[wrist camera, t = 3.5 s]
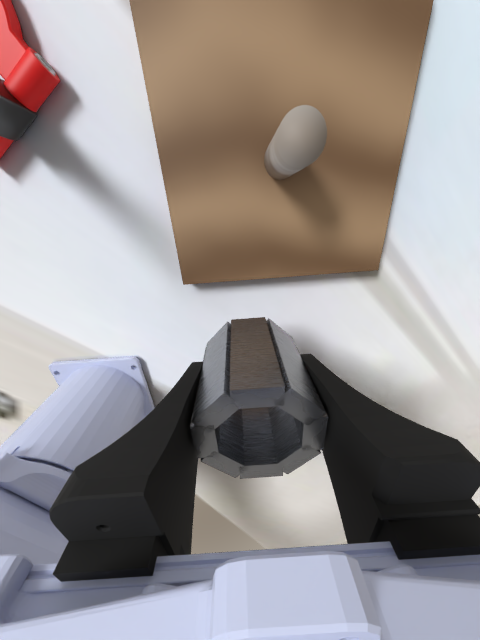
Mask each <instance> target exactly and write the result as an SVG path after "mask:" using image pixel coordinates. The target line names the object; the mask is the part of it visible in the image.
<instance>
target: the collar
mask: <svg viewBox="0 0 480 640" xmlns="http://www.w3.org/2000/svg"><path fill="white" fill-rule="evenodd" d="M327 422H328V415H327V413H326V411H325V409H324V407H323V404H322V402H321V400H320V398H319V396H318V393H317V391H316V389H315V387H314V385H313V382H312V380H311V378H310V376H309V374H308V371H307V369H306V367H305V365H304V363H303V360H302V358H301V356H300V354H299V352H298V349H297V347H296V345H295V343H294V341H293V338H292V337H291V336H290V335H289V334H287V333H286V332H285V331H284V330H282V329H281V328H280V327H279V326H278V325H276V324H275V323H274V322H273V321H271V320H270V319H268V320H267V321H266V319H265V317H262V318H249V319H236V320H231V324H230V323H229V322H227V323H226V324H225V325H224V326H223V327H222V328H221V329H220V330H219V331H218V332H217V333H216V334H215V336H214V337H213V338H212V339H211V340H210V341H209V342H208V343H207V347H206V350H205V355H204V360H203V367H202V372H201V376H200V379H199V384H198V389H197V394H196V399H195V404H194V409H193V414H192V419H191V424H190V429H191V433H192V437H193V441H194V445H195V449H196V453H197V457H198V458H201V462H203V463H205V464H207V465H210V466H212V467H214V468H216V469H218V470H220V471H222V472H224V473H226V474H228V475H230V476H232V477H235V478H236V477H237V476H239V475H240V479H243V478H258V477H272V476H283V472H284V473H286V474H289V473H291V472H292V471H294V470H295V469H297V468H298V467H300V466H301V465H303V464H305V463H306V462H308V461H309V460H311V459H312V458H314V457H315V456H317V455H319V454H320V453H321V452H320V450H323V449H324V442H325V436H326V429H327Z"/></svg>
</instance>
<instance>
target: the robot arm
mask: <svg viewBox="0 0 480 640" xmlns="http://www.w3.org/2000/svg"><path fill="white" fill-rule="evenodd" d="M300 356H301V358H302V360H303V363H304V365H305V367H306V369H307V371H308V374H309V376H310V378H311V380H312V382H313V385H314V387H315V389H316V391H317V393H318V396H319V398H320V400H321V402H322V404H323V407H324V409H325V411H326V413H327V415H328V422H327V429H326V436H325V442H324V449H323V450H322V451H323V455H324V458H325V461H326V465H327V468H328V471H329V475H330V478H331V482H332V485H333V489H334V492H335V496H336V500H337V504H338V507H339V511H340V515H341V519H342V523H343V527H344V531H345V535H346V539H347V543H348V544H341V545H326V546H311V547H296V548H280V549H265V550H250V551H236V552H219V553H205V554H191V542H192V525H193V524H192V523H193V511H194V497H195V486H196V474H197V464H198V457H197V453H196V449H195V445H194V441H193V437H192V433H191V429H190V424H191V419H192V414H193V409H194V404H195V399H196V394H197V389H198V384H199V379H200V376H201V372H202V367H203V362H193V363H192V364H191V365H190V366H189V367H188V369H187V370H186V372H185V373H184V374H183V376H182V377H181V378H180V380H179V381H178V382H177V383H176V385H175V386H174V387H173V388H172V390H171V391H170V392H169V393H168V394H167V395H166V397H165V398H164V399H163V400H162V401H161V402H160V403H159V404H158V405H157V406H156V407H154V404H153V401H152V398H151V395H150V392H149V389H148V386H147V383H146V380H145V377H144V374H143V371H142V368H141V365H140V362H139V359H138V358H137V357H134V356H130V357H116V358H102V359H88V360H73V361H59V362H53V363H51V364H50V365H49V369H50V371H51V373H52V374H53V376H54V378H55V380H56V382H57V383H58V385H59V387H58V388H57V389H56V390H55V391H54V392H53V393H52V394H51V395H50V396H49V397H48V398H47V399H46V400H45V401H44V402H43V403H42V404H41V405H40V406H39V407H38V408H37V409H36V410H35V411H34V412H33V414H32V415H31V416H30V417H29V418H28V419H27V420H26V421H25V422H24V423H23V424H22V425H21V426H20V427H19V428H18V429H17V430H16V431H15V432H14V433H13V434H12V435H11V436H10V437H9V438H8V439H7V440H6V441H5V442H4V443H3V444H2V445H1V446H0V640H480V517H479V516H478V514H480V508H479V507H478V506H477V505H476V503H475V502H474V501H473V500H472V499H471V498H472V496H473V495H474V494H475V492H476V491H477V489H478V488H479V487H480V462H479V461H478V460H477V459H476V458H475V457H474V456H473V455H472V454H471V453H470V452H469V451H468V450H467V449H466V448H465V447H464V446H463V445H462V444H461V443H460V442H459V441H458V440H457V439H454V438H452V437H449V436H447V435H444V434H442V433H439V432H436V431H434V430H431V429H429V428H426V427H424V426H422V425H419V424H417V423H415V422H413V421H411V420H408V419H406V418H404V417H402V416H400V415H398V414H396V413H394V412H392V411H390V410H388V409H387V408H385V407H383V406H381V405H379V404H377V403H376V402H374V401H372V400H371V399H369V398H367V397H366V396H364V395H363V394H361V393H359V392H358V391H356V390H355V389H354V388H352V387H351V386H349V385H348V384H347V383H345V382H344V381H343V380H341V379H340V378H339V377H337V376H336V375H335V374H334V373H332V372H331V371H330V370H329V369H328V368H326V367H325V366H324V365H323V364H322V363H321V362H320V361H318V360H317V359H316V358H315V357H314V356H313V355H311V354H302V355H300ZM133 365H134V366H136V367H134V366H133Z"/></svg>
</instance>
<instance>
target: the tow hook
mask: <svg viewBox="0 0 480 640" xmlns="http://www.w3.org/2000/svg"><path fill="white" fill-rule="evenodd" d="M0 75H1V76H2V77H3V78H4V79H5V81H3V80H1V79H0V158H1V157H2V156H3V154H4V153H5V152H6V150H7V149H8V148H9V147H10V145H11V144H12V143H13V141H17V140H19V138H20V137H21V136H22V134H23V133H24V132H25V131H26V129H27V128H28V127H29V125H30V124H31V123H32V122H33V120H34V119H35V118H36V116H37V110H38V109H39V108H40V106H41V105H42V104H43V103H44V101H45V100H46V99H47V97H48V96H49V95H50V93H51V92H52V91H53V90H54V88H55V87H56V86H57V84H58V83H59V82H60V79H59V77H58V76H57V74H56V73H55V71H54V70H53V69H52V67H51V66H50V65H49V64H48V63H47V62H46V61H45V60H44V59H43V58H42V57H41V56H40V55H39V54H38V53H37V52H36V51H34V50H33V49H32V48H31V47H29V46H28V45H27V44H26V43H25V41H24V40H23V37H22V32H21V27H20V23H19V20H18V17H17V15H16V12H15V10H14V7H13V4H12V2H11V0H0Z"/></svg>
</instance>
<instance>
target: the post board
mask: <svg viewBox="0 0 480 640" xmlns="http://www.w3.org/2000/svg"><path fill="white" fill-rule="evenodd" d="M432 5H433V0H130V6H131V11H132V16H133V22H134V27H135V32H136V37H137V43H138V48H139V53H140V58H141V64H142V69H143V74H144V80H145V85H146V90H147V95H148V101H149V106H150V111H151V116H152V122H153V127H154V132H155V138H156V143H157V148H158V153H159V159H160V164H161V169H162V174H163V180H164V185H165V190H166V196H167V201H168V206H169V211H170V217H171V222H172V227H173V232H174V238H175V243H176V248H177V254H178V259H179V264H180V269H181V275H182V280H183V285H185V284H198V283H211V282H225V281H238V280H252V279H265V278H279V277H292V276H305V275H319V274H332V273H346V272H359V271H373V270H378V268H379V263H380V258H381V254H382V249H383V244H384V239H385V234H386V229H387V224H388V219H389V215H390V210H391V205H392V200H393V195H394V190H395V185H396V180H397V176H398V171H399V166H400V161H401V156H402V151H403V146H404V141H405V137H406V132H407V127H408V122H409V117H410V112H411V107H412V102H413V98H414V93H415V88H416V83H417V78H418V73H419V68H420V63H421V58H422V54H423V49H424V44H425V39H426V34H427V29H428V24H429V19H430V15H431V10H432Z"/></svg>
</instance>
